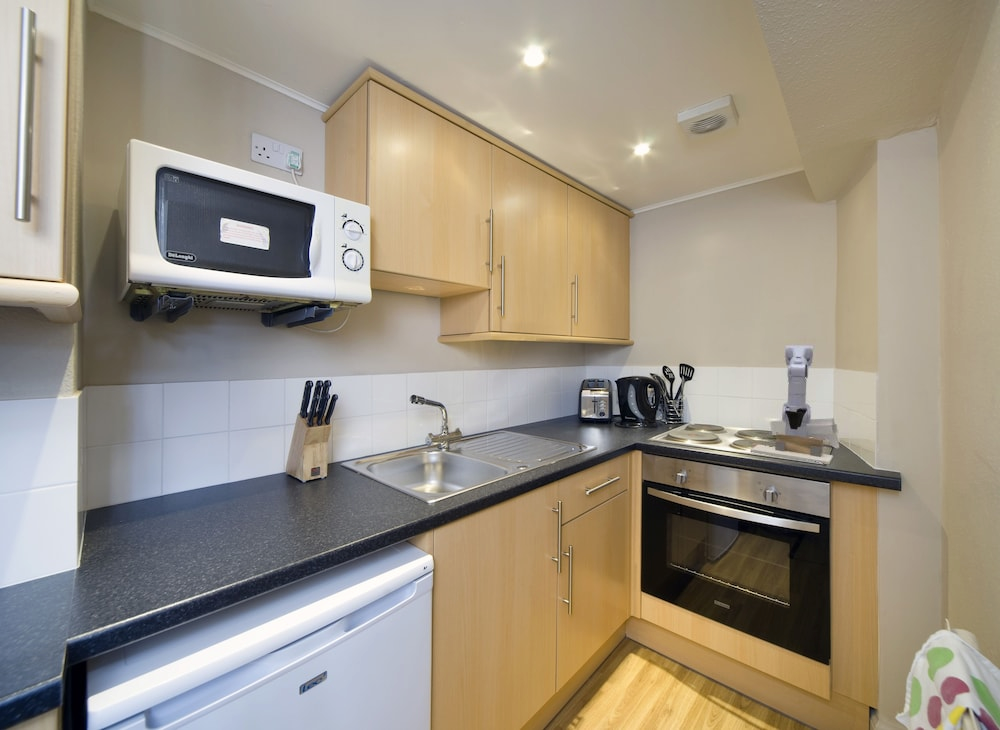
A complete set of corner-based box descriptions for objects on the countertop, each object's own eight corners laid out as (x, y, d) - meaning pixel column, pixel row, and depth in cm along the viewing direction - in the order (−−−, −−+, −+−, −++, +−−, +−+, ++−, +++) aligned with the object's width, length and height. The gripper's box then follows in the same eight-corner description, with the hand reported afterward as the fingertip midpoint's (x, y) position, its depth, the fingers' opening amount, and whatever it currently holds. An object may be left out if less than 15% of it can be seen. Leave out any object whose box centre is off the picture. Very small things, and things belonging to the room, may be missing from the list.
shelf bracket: (835, 449, 165) (829, 418, 167) (773, 448, 188) (768, 421, 190) (842, 448, 168) (836, 418, 169) (780, 447, 190) (775, 420, 192)
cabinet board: (758, 446, 167) (758, 436, 167) (832, 458, 150) (833, 446, 150) (750, 451, 157) (751, 440, 157) (829, 464, 141) (829, 452, 141)
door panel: (777, 448, 160) (777, 433, 160) (821, 455, 150) (822, 439, 150) (776, 449, 158) (776, 434, 158) (821, 456, 148) (821, 440, 148)
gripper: (787, 392, 167) (786, 424, 167) (781, 394, 157) (779, 428, 157) (809, 393, 162) (807, 426, 163) (803, 395, 152) (802, 431, 152)
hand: (795, 427), depth 159 cm, fingers open, 7 cm apart
